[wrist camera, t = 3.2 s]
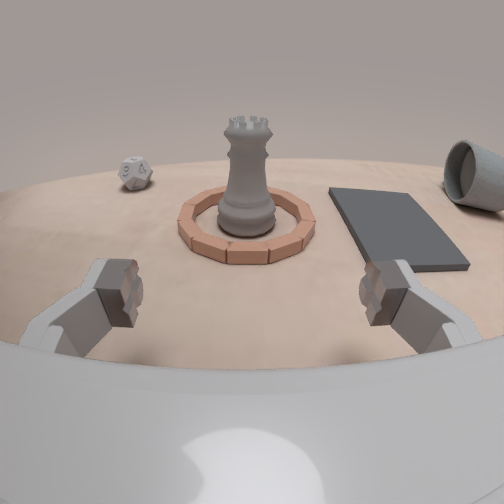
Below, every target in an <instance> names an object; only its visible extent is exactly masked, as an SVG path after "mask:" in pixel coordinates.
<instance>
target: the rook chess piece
mask: <svg viewBox="0 0 504 504" xmlns="http://www.w3.org/2000/svg"><path fill="white" fill-rule="evenodd" d="M244 121H245V117H244V116H238V117H237V121H236V118H230V123H229V124H230V125H229V127H228V128H227V129H226V130H225V132H224V135H225V137H226V138H227V139H228V141H229V142H230V143H231V149H230V151H229V152H228V153H227V155H228V157H229V158H230V172H229V179H228V185H227V188H226V190H225V191H224V193H223V198H222V199H221V200H220V201H219V204H218V212H219V215H218V216H217V222H218V223H219V224H220V226H221V227H222V228H223V229H224V230H225V231H226V232H228V233H230V234H232V235H235V236H240V237H255V236H258V235H262V234H264V233H266V232H267V231H269V230H270V229H271V228H272V227H273V226H274V224H275V221H276V218H275V215H274V213H275V211H276V208H275V204H274V201H273V200H272V198H271V195H270V192H269V191H268V190H267V185H266V174H265V159H266V158H267V157H268V156H269V155H268V153H267V152H266V149H265V146H266V143H267V141H268V140H269V139H270V137H272V135H273V134H272V132H271V131H270V129H269V128H268V120H267V119H266V118H260V122H257V117H255V116H250V122H244Z"/></svg>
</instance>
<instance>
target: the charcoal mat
mask: <svg viewBox="0 0 504 504" xmlns="http://www.w3.org/2000/svg"><path fill="white" fill-rule="evenodd" d="M329 195H330V196H331V198H332V200H333V202H334V203H335V205H336V207H337V209H338V210H339V212H340V214H341V216H342V218H343V219H344V221H345V223H346V225H347V227H348V229H349V230H350V232H351V234H352V236H353V238H354V240H355V242H356V244H357V245H358V247H359V249H360V251H361V253H362V255H363V257H364V259H365V261H366V263H367V262H368V261H378V260H402V259H404V260H405V261H407V263H408V264H409V266H410V267H411V269H412V270H413V272H430V271H457V270H468V268H469V266H470V263H469V261H468V260H467V259H466V258H465V256H464V255H463V254H462V253H461V251H460V250H459V249H458V248H457V247H456V245H455V244H454V243H453V242H452V241H451V240H450V238H449V237H448V236H447V235H446V234H445V233H444V231H443V230H442V229H441V228H440V227H439V226H438V225H437V224H436V222H435V221H434V220H433V219H432V218H431V217H430V216H429V215H428V214H427V213H426V212H425V211H424V209H423V208H422V207H421V206H420V205H419V204H418V203H417V202H416V201H415V200H414V199H413V198H412V197H411V196H410V195H409V194H408V193H398V192H387V191H375V190H362V189H348V188H331V187H329Z"/></svg>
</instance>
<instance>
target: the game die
mask: <svg viewBox="0 0 504 504" xmlns="http://www.w3.org/2000/svg"><path fill="white" fill-rule="evenodd" d="M152 173H153V171H152V169H151V168H150V166H149V165H148V163H147V162H146V161H145V159H144V158H143V157H142V156H136V157H129V158H127V159H126V160H125V161H124V162H123V163H122V165H121V168H120V170H119V173H118V176H119V177H120V178H121V180H122V181H123V183H124V184H125V185H126V186H127V188H128V189H129V190H130V191H132V190H139V189H144V187H145V186H146V185H147V184H148V182H149V180H150V178H151V175H152Z"/></svg>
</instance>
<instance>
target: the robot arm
mask: <svg viewBox="0 0 504 504" xmlns="http://www.w3.org/2000/svg"><path fill="white" fill-rule="evenodd" d="M138 270H139V268H138V264H137V261H135V260H130V259H96V260H95V261H94V263H93V265H92V266H91V268H90V270H89V272H88V274H87V275H86V277H85V279H84V281H83V283H82V285H81V286H80V288H75V289H74V290H72V291H71V292H69V293H68V294H67V295H65V296H64V297H62V298H61V299H59V300H58V301H57V302H55V303H54V304H52V305H51V306H50V307H48V308H47V309H45V310H44V311H43V312H41V313H40V314H38V315H37V316H36V317H34V318H33V319H32V320H30V322H29V324H28V326H27V328H26V329H25V331H24V333H23V335H22V337H21V339H20V341H19V343H18V345H16V344H12V343H8V342H4V341H0V504H504V335H501V336H498V337H494V338H490V339H486V340H483V338H482V336H481V334H480V333H479V331H478V329H477V327H476V326H475V324H474V322H473V321H472V319H471V318H470V317H469V316H467V315H466V314H464V313H463V312H462V311H460V310H459V309H457V308H456V307H454V306H453V305H452V304H450V303H449V302H447V301H446V300H444V299H443V298H441V297H440V296H438V295H437V294H435V293H434V292H432V291H431V290H429V289H428V288H426V287H422V285H421V283H420V282H419V280H418V278H417V277H416V275H415V274H414V272H413V270H412V269H411V267H410V266H409V264H408V263H407V261H405V260H404V259H402V260H378V261H368V262H367V263H366V266H365V269H364V270H365V272H366V275H365V276H364V277H363V278H362V279H361V282H360V285H359V297H360V300H361V303H362V304H363V305H364V306H365V307H367V310H366V312H365V313H366V316H367V319H368V321H369V324H370V326H383V325H391V327H392V328H393V329H394V330H395V331H396V332H397V333H398V334H399V335H400V336H401V337H402V338H403V339H404V340H405V341H406V342H407V343H408V344H409V345H410V346H411V347H412V348H413V349H414V350H415V351H416V352H417V353H418V355H412V356H406V357H400V358H393V359H386V360H379V361H371V362H363V363H354V364H345V365H334V366H322V367H307V368H289V369H256V370H224V369H191V368H173V367H159V366H147V365H136V364H127V363H118V362H110V361H102V360H95V359H88V358H84V357H85V356H86V355H87V354H88V353H89V352H90V350H91V349H92V348H93V347H94V346H95V345H96V344H97V343H98V342H99V341H100V340H101V339H102V338H103V337H104V336H105V335H106V334H107V333H108V332H109V331H110V330H111V329H112V327H127V328H134V325H135V322H136V319H137V316H138V312H137V309H136V308H137V307H138V306H140V305H141V303H142V299H143V283H142V279H141V278H140V277H139V276H138V275H137V273H138Z"/></svg>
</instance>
